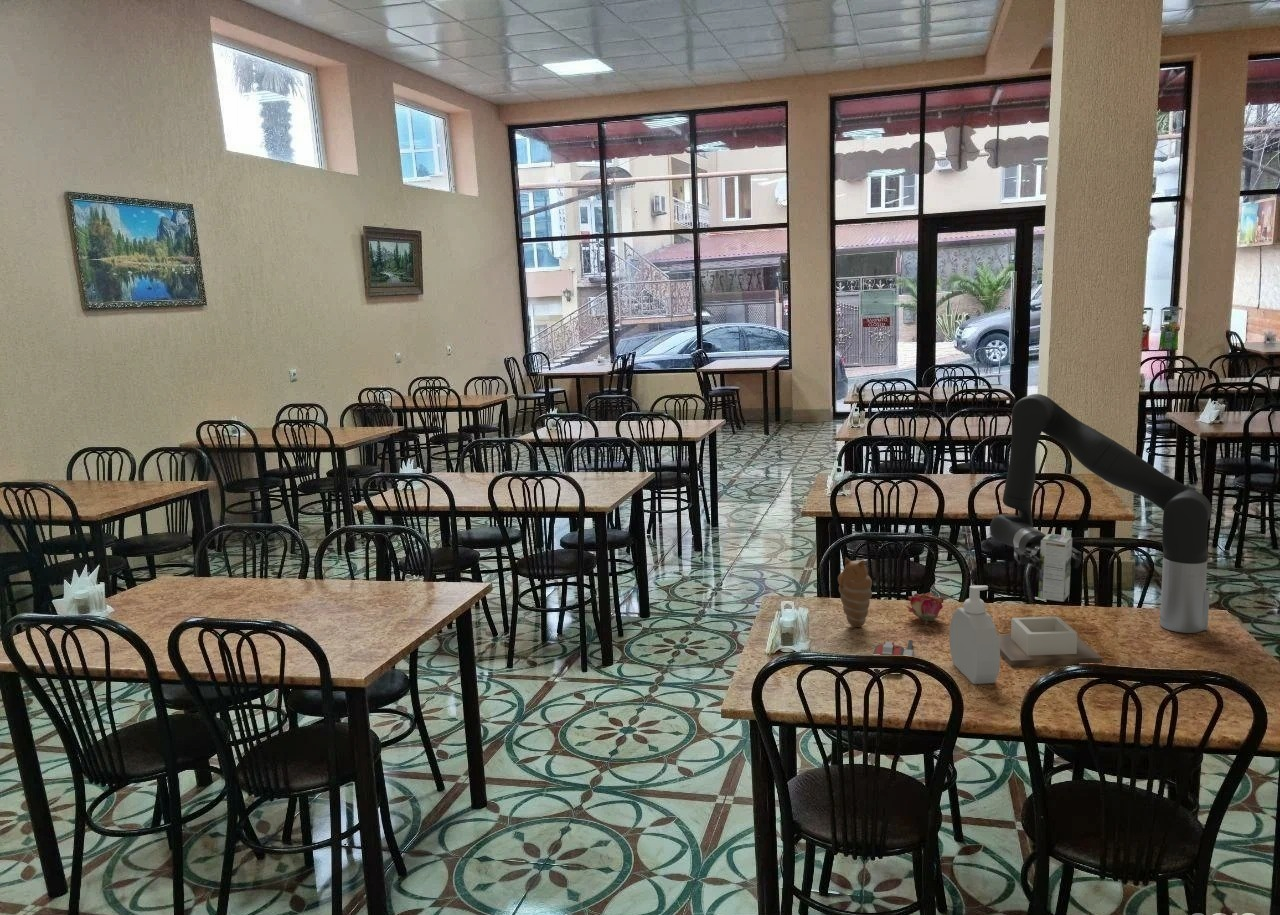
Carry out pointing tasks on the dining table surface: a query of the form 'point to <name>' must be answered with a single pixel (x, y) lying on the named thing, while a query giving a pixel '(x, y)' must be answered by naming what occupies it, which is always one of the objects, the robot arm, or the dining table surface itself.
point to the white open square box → (1043, 636)
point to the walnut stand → (1020, 658)
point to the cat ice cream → (855, 591)
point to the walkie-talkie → (893, 650)
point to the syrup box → (1055, 567)
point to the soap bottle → (975, 640)
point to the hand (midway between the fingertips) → (1058, 564)
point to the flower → (925, 606)
